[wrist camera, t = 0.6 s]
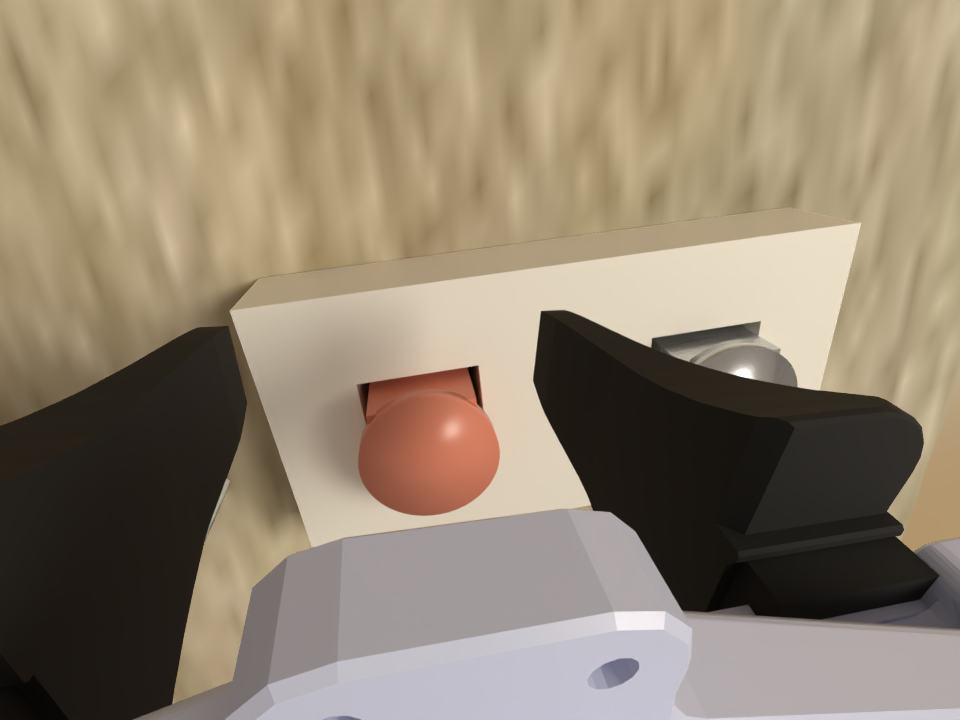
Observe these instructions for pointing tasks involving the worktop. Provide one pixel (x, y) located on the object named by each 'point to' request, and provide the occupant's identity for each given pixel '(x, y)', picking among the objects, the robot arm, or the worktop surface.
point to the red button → (427, 443)
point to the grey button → (730, 353)
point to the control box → (517, 340)
